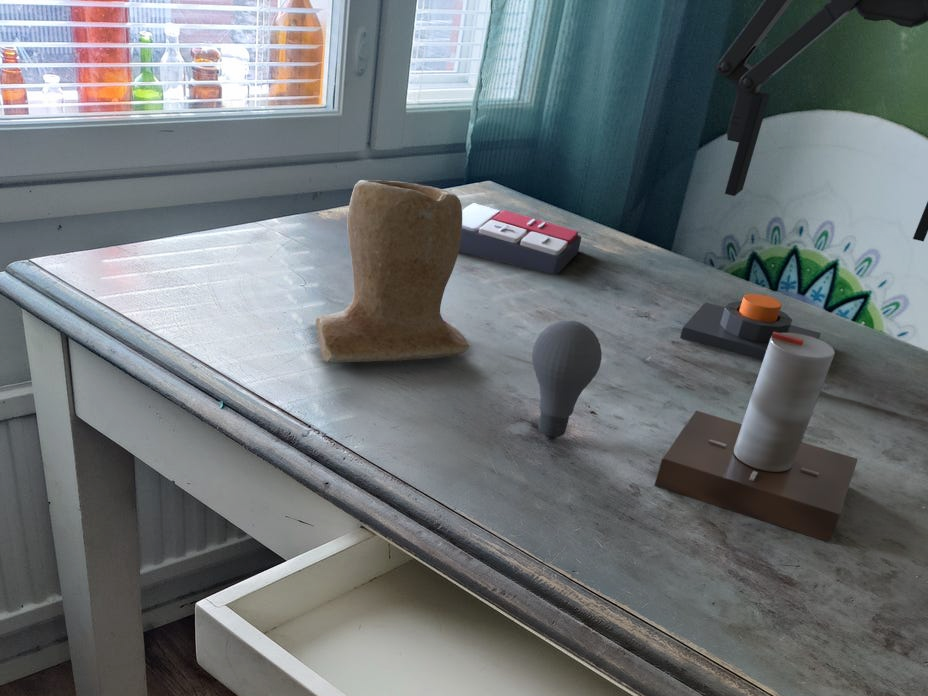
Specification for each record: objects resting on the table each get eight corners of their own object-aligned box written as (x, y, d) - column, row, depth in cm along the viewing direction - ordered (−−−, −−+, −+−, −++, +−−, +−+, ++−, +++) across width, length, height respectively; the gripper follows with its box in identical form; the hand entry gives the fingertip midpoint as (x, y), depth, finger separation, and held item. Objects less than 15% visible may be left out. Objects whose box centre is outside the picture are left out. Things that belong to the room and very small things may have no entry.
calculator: (562, 251, 114) (441, 216, 116) (553, 288, 116) (435, 253, 119) (584, 229, 122) (471, 197, 124) (575, 264, 125) (465, 232, 127)
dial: (797, 455, 81) (840, 340, 75) (787, 478, 77) (831, 359, 71) (740, 438, 82) (778, 323, 76) (727, 460, 79) (766, 341, 73)
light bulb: (535, 416, 87) (557, 304, 80) (592, 437, 85) (619, 323, 79) (506, 437, 83) (526, 321, 77) (565, 460, 81) (591, 342, 75)
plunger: (779, 316, 105) (784, 300, 104) (772, 327, 102) (778, 310, 101) (742, 307, 106) (747, 290, 105) (734, 317, 103) (739, 300, 102)
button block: (814, 352, 108) (827, 316, 106) (799, 381, 101) (812, 344, 98) (699, 321, 112) (709, 285, 109) (677, 347, 104) (687, 310, 102)
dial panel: (846, 484, 83) (858, 456, 82) (828, 542, 75) (841, 512, 74) (688, 435, 87) (696, 408, 86) (654, 485, 79) (662, 456, 78)
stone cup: (431, 322, 101) (448, 165, 92) (480, 370, 93) (504, 203, 84) (288, 328, 96) (291, 162, 86) (327, 380, 87) (335, 202, 78)
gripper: (733, -191, 60) (647, 182, 73) (1188, -134, 53) (1002, 269, 66) (759, -179, 65) (675, 166, 78) (1173, -126, 58) (1004, 244, 71)
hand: (824, 214), depth 72 cm, fingers open, 13 cm apart
